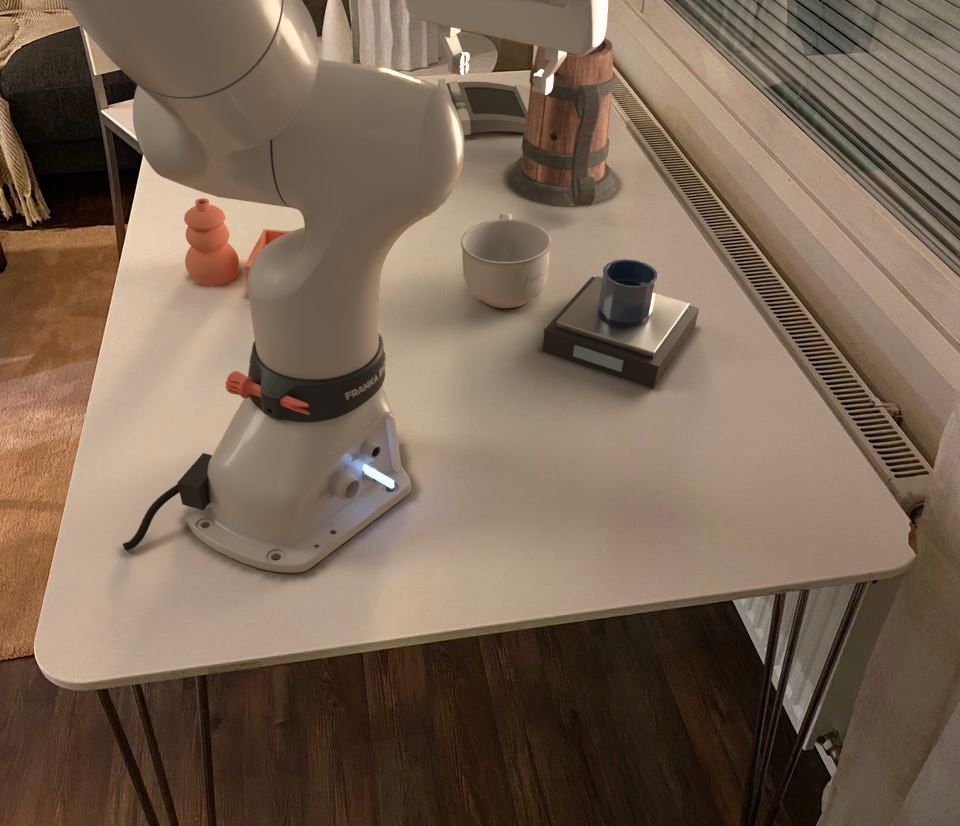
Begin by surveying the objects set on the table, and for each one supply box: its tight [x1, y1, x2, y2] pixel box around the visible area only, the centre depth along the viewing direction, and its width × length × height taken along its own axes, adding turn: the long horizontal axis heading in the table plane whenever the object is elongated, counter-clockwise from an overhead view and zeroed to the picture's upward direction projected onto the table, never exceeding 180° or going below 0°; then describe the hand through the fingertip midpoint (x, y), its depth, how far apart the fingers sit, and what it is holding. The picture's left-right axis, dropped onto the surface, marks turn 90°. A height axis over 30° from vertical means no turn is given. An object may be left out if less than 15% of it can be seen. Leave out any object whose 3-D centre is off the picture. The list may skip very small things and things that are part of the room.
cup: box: [599, 258, 659, 323], centre depth 111 cm, size 6×6×5 cm
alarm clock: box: [437, 78, 530, 136], centre depth 162 cm, size 17×5×16 cm
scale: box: [541, 276, 700, 389], centre depth 114 cm, size 14×14×3 cm
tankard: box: [505, 37, 618, 207], centre depth 137 cm, size 24×17×20 cm
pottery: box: [183, 197, 291, 298], centre depth 119 cm, size 18×10×10 cm, turn 85°
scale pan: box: [556, 275, 691, 358], centre depth 113 cm, size 12×12×1 cm
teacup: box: [460, 212, 552, 309], centre depth 120 cm, size 14×11×8 cm
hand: (499, 82), depth 97 cm, fingers open, 8 cm apart
